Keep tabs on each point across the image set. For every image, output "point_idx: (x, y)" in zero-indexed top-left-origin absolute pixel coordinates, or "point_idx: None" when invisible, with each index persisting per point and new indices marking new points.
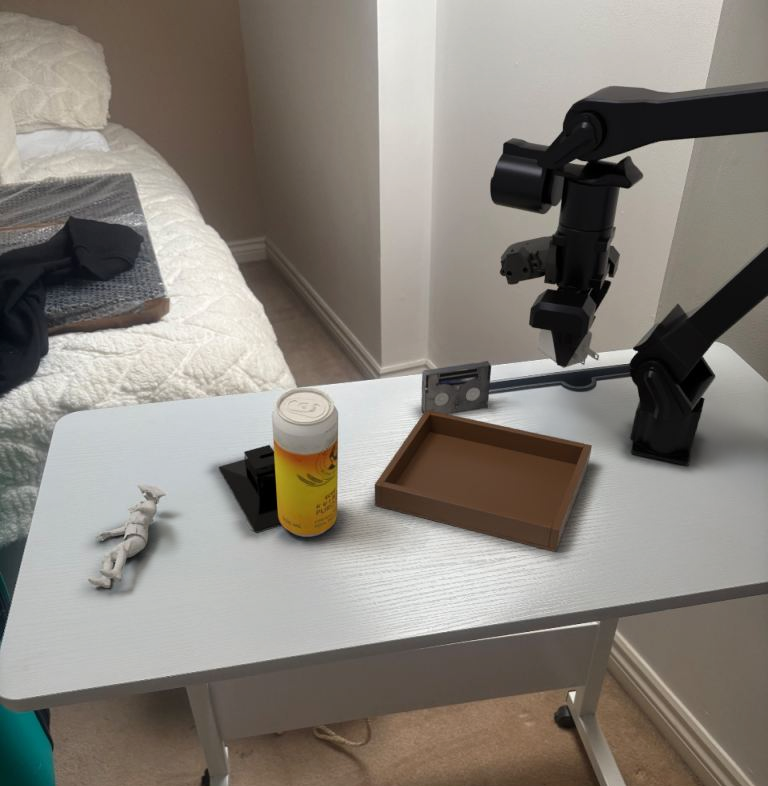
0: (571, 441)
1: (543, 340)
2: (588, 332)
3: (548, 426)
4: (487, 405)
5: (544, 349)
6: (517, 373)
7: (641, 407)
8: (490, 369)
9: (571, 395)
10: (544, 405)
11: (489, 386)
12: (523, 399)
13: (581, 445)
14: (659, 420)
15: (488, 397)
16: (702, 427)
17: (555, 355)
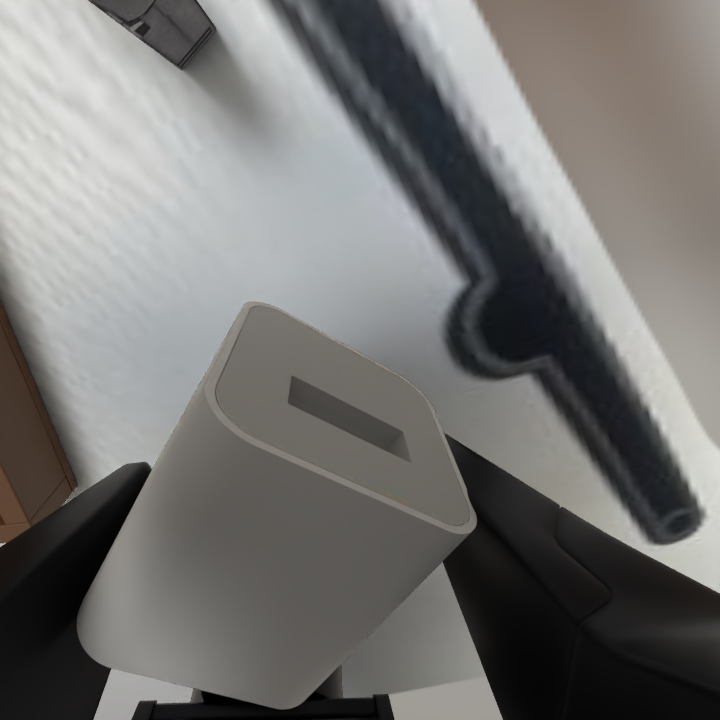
0: (7, 488)
1: (204, 378)
2: (278, 701)
3: (200, 331)
4: (178, 67)
5: (208, 368)
6: (499, 96)
7: (135, 711)
8: (99, 6)
9: (417, 334)
10: (317, 277)
11: (147, 44)
12: (319, 192)
13: (7, 519)
14: (193, 688)
15: (167, 59)
16: (396, 619)
17: (64, 505)
